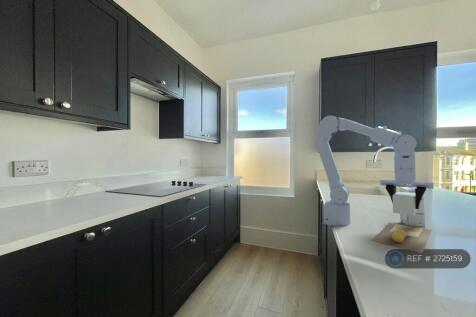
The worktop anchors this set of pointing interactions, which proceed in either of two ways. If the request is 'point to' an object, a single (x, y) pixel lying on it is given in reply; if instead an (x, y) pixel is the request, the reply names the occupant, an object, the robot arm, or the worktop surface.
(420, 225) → the syrup box
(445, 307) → the worktop surface
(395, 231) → the marble
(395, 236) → the marble
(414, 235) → the walnut board
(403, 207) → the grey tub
